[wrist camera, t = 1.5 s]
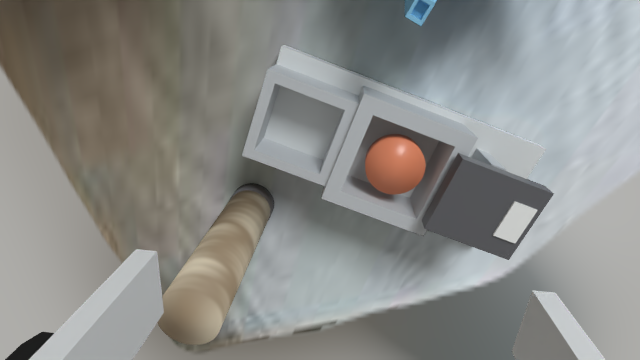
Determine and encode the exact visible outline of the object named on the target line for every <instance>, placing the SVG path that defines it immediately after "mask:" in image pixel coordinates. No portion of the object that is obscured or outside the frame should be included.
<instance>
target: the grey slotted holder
mask: <svg viewBox="0 0 640 360" xmlns="http://www.w3.org/2000/svg"><path fill="white" fill-rule="evenodd" d="M389 134H401V135H405V136H407V137H409V138H411V139H412V140H414V141H415V142H416V143H417V144H418V146H419V148H420V149H421V151H422V153H423V155H424V158H425V163H426V167H425V173H424V176H423V178H422V180H421V181H420V182H419V184H418V185H417V186H416V187H414V188H413V189H412V190H410V191H408V192H406V193H402V194H395V195H394V194H386V193H383V192H381V191H379V190H377V189H376V188H375V187H373V186H372V184H371V183H370V182H369V180H368V178H367V175H366V170H365V157H366V153H367V151H368V149H369V147H370V146H371V145H372V143H373V142H375V141H376V140H377V139H379V138H380V137H382V136H385V135H389ZM545 150H546V149H545V148H544V147H542V146H541V145H539V144H537V143H535V142H532V141H530V140H527V139H525V138H522V137H519V136H517V135H514V134H512V133H509V132H507V131H504V130H502V129H499V128H496V127H494V126H491V125H489V124H486V123H484V122H481V121H478V120H476V119H473V118H471V117H468V116H466V115H463V114H461V113H458V112H455V111H453V110H450V109H448V108H445V107H443V106H440V105H438V104H435V103H432V102H430V101H427V100H425V99H422V98H420V97H417V96H415V95H412V94H409V93H407V92H404V91H402V90H399V89H397V88H394V87H391V86H389V85H386V84H384V83H381V82H379V81H376V80H374V79H371V78H368V77H366V76H363V75H361V74H358V73H356V72H353V71H351V70H348V69H345V68H343V67H340V66H338V65H335V64H333V63H330V62H328V61H325V60H322V59H320V58H317V57H315V56H312V55H310V54H307V53H305V52H302V51H299V50H297V49H294V48H292V47H289V46H287V45H283V46H282V47H281V50H280V53H279V56H278V60H277V63H276V65H274V66H272V67H270V68H268V70H267V73H266V76H265V80H264V83H263V86H262V90H261V93H260V96H259V100H258V103H257V106H256V110H255V113H254V117H253V120H252V123H251V127H250V130H249V133H248V137H247V140H246V143H245V147H244V150H243V153H242V156H244V157H247V158H250V159H252V160H255V161H258V162H261V163H263V164H266V165H269V166H271V167H274V168H277V169H279V170H282V171H285V172H288V173H290V174H293V175H296V176H298V177H301V178H304V179H306V180H309V181H312V182H315V183H317V184H320V185H323V186H324V187H323V192H322V197H321V199H324V200H326V201H329V202H332V203H334V204H337V205H340V206H343V207H345V208H348V209H351V210H353V211H356V212H359V213H362V214H364V215H367V216H370V217H372V218H375V219H378V220H381V221H383V222H386V223H389V224H391V225H394V226H397V227H400V228H402V229H405V230H408V231H410V232H413V233H416V234H419V235H421V236H424V235H425V233H426V231H427V230H426V229H424V226H423V223H422V218H423V216H424V215H425V213H426V211H427V209H428V207H429V205H430V203H431V202H432V200H433V198H434V196H435V194H436V192H437V191H438V189H439V187H440V185H441V183H442V181H443V180H444V178H445V176H446V174H447V172H448V170H449V168H450V167H451V165H452V163H453V161H454V159H455V157H456V156H457V154H458V153H460V154H463V155H465V156H468V157H471V158H473V159H476V160H478V161H481V162H484V163H486V164H489V165H491V166H494V167H497V168H499V169H502V170H504V171H507V172H510V173H512V174H515V175H517V176H520V177H523V178H525V179H527V178H528V177H529V175H530V174H531V172H532V170H533V169H534V167H535V166H536V164H537V163H538V161H539V159H540V158H541V156H542V155H543V153H544V152H545Z"/></svg>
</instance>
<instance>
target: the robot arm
mask: <svg viewBox="0 0 640 360" xmlns="http://www.w3.org/2000/svg"><path fill="white" fill-rule="evenodd" d="M163 313H164V308H163V299H162V291H161V282H160V273H159V264H158V256H157V251H149V250H139V249H136V250H135V251H134V252H133V253H132V254H131V255H130V256H129V257H128V258H127V259H126V260H125V261H124V262H123V263H122V264H121V265H120V266H119V267H118V269H117V270H116V271H115V272H114V273H113V274H112V275H111V276H110V277H109V278H108V279H107V280H106V281H105V282H104V283H103V284H102V285H101V286H100V287H99V288H98V289H97V290H96V291H95V292H94V293H93V294H92V295H91V296H90V297H89V298H88V299H87V300H86V301H85V302H84V303H83V304H82V306H81V307H80V308H79V309H78V310H77V311H76V312H75V313H74V314H73V315H72V316H71V317H70V318H69V319H68V320H67V321H66V322H65V323H64V324H63V325H62V326H61V327H60V328H59V329H58V330H57V331H56V332H55V333H48V332H41V333H39V334H38V335H36V336H34V337H33V338H31V339H29V340H28V341H26V342H25V343H23V344H21V345H20V346H19V347H18V348H17V349H16V350H15V351H14V352H13V353H12V354H11V355H10V356H9V357H8V358H7V359H5V360H133V358H134V357H135V355H136V354H137V352H138V351H139V349H140V348H141V346H142V344H143V343H144V341H145V340H146V338H147V337H148V336H149V334H150V333H151V331H152V330H153V328H154V326H155V325H156V324H157V322H158V321H159V319H160V318H161V316H162V314H163ZM512 353H513V355H514V357H515V359H516V360H605V359H604V357H603V356H602V354H601V353H600V352H599V350H598V349H597V348H596V346H595V345H594V344H593V342H592V341H591V340H590V338H589V337H588V336H587V334H586V333H585V332H584V330H583V329H582V328H581V326H580V325H579V324H578V322H577V321H576V320H575V318H574V317H573V316H572V314H571V313H570V312H569V310H568V309H567V308H566V306H565V305H564V304H563V302H562V301H561V299H560V298H559V297H558V295H557V294H556V293H552V292H542V291H532V293H531V296H530V299H529V302H528V305H527V308H526V311H525V314H524V317H523V320H522V323H521V326H520V329H519V332H518V335H517V338H516V341H515V344H514V347H513V349H512Z"/></svg>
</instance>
